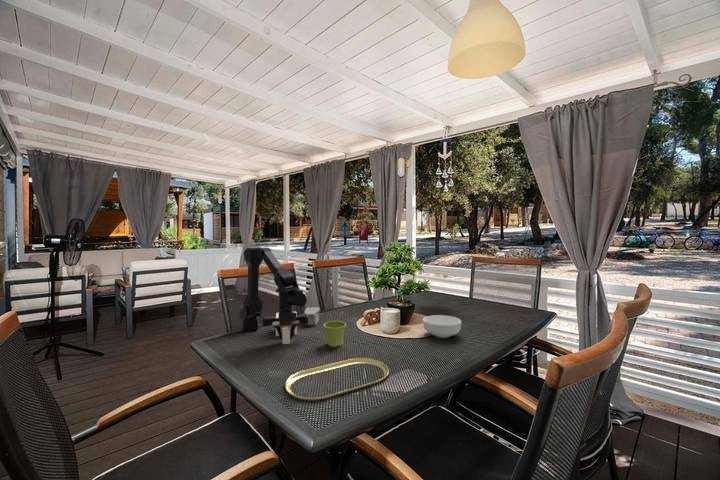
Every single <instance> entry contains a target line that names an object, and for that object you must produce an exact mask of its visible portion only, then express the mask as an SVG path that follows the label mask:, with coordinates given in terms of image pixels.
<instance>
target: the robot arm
mask: <svg viewBox="0 0 720 480" xmlns="http://www.w3.org/2000/svg"><path fill="white" fill-rule="evenodd" d="M243 257H244V262H245V264H246V265H247V286H246V287H247V291H246V293H247V295H246V297H245V299H244V301H243V304H242V308H241V310H240V312H239V313H238V317H239V319H242V333H248V332H249V333H250V332H257V331H258V329H259V328H260V323H259V321H260V320H259V318H258V317H260V316H261V315H262V311H263V303H264V301H263V300H262V299H261V298H260V297H259V285H260V284H259V281H260V280H259V279H260V266H261V264H262V263H263V262H264V263H265V265H266V266H267V267H268V269H269V270H270V272H271V273H272V275H273V281H274V283H275V285H276V287H277V289H276V290H275V293H278V313H279V318H276V317H274V315H264V316H263V317H262V327H270V326H272V328H274V329H275V330H276V329H277V331H278V334H279V336H278V337H279V339H280V341H282V332H281V326H285V325H288V326H290V325H291V333H290V341H291V340H292V339H293V336H294V330H295V328H296V326H297V327H299V326H300V324H301V325H303V324H305V325H306V323H308V315H307V314H305V313H298V316H297V317H296V312H297V311H293V308H294V307H298V308H303V307H304V306H306V304H307V299H308V298H307V296H306V294H305V293H304V290H303V289H300V287H299V284H298V282H297V280H296V278H295V275H294V274H293V273H292V272H291V271H290V270H289V269H286V268H284V267H283V266H282V265H281V263H280V261H279V260H278V259H277V258H276V256H275V255H274V254H273V252H272V250H271V248H269V247H260V246H259V247H257V246H256V247H247V248H246V249H244V252H243ZM293 312H295V313H293Z"/></svg>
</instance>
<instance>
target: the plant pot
mask: <svg viewBox="0 0 720 480" xmlns="http://www.w3.org/2000/svg"><path fill="white" fill-rule="evenodd" d="M346 326H347V323H346V322H344V321H342V320H341V321H340V320H331V321H327V322H324V323H323V328H324V330H325V335H326V341H327V345H328V346H329V347H330V348H337V347H341V346H342V345H343V343H344V342H343V340H344V334H345V329H346Z"/></svg>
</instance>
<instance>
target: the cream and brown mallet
mask: <svg viewBox="0 0 720 480" xmlns="http://www.w3.org/2000/svg"><path fill="white" fill-rule="evenodd" d="M281 332H282V340H281V341H282V345H287V344H291V340H290V334H291V325H290V326H288V325H285V326H281Z"/></svg>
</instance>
